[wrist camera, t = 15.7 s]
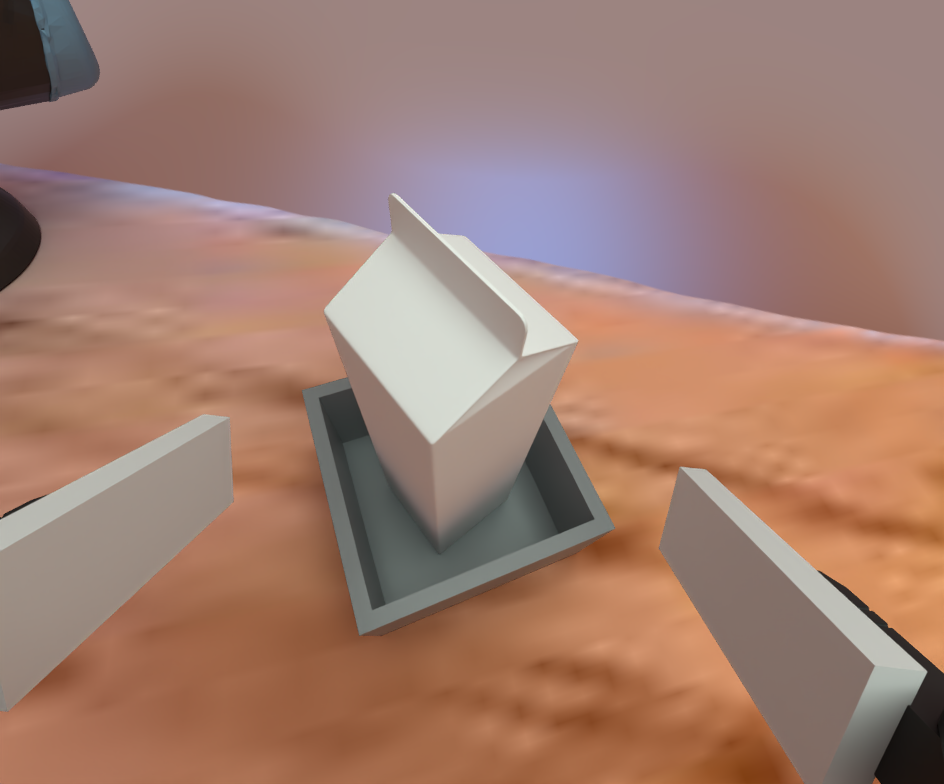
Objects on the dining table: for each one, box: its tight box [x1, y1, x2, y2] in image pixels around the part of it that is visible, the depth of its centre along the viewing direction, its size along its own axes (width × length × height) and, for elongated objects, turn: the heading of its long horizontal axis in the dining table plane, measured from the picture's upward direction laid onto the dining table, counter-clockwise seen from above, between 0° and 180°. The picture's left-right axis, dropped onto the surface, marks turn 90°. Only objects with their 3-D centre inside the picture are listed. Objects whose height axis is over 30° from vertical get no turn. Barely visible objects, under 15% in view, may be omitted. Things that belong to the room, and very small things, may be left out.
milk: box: [324, 193, 578, 554], centre depth 21 cm, size 6×6×22 cm
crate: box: [302, 377, 615, 636], centre depth 28 cm, size 14×14×8 cm
